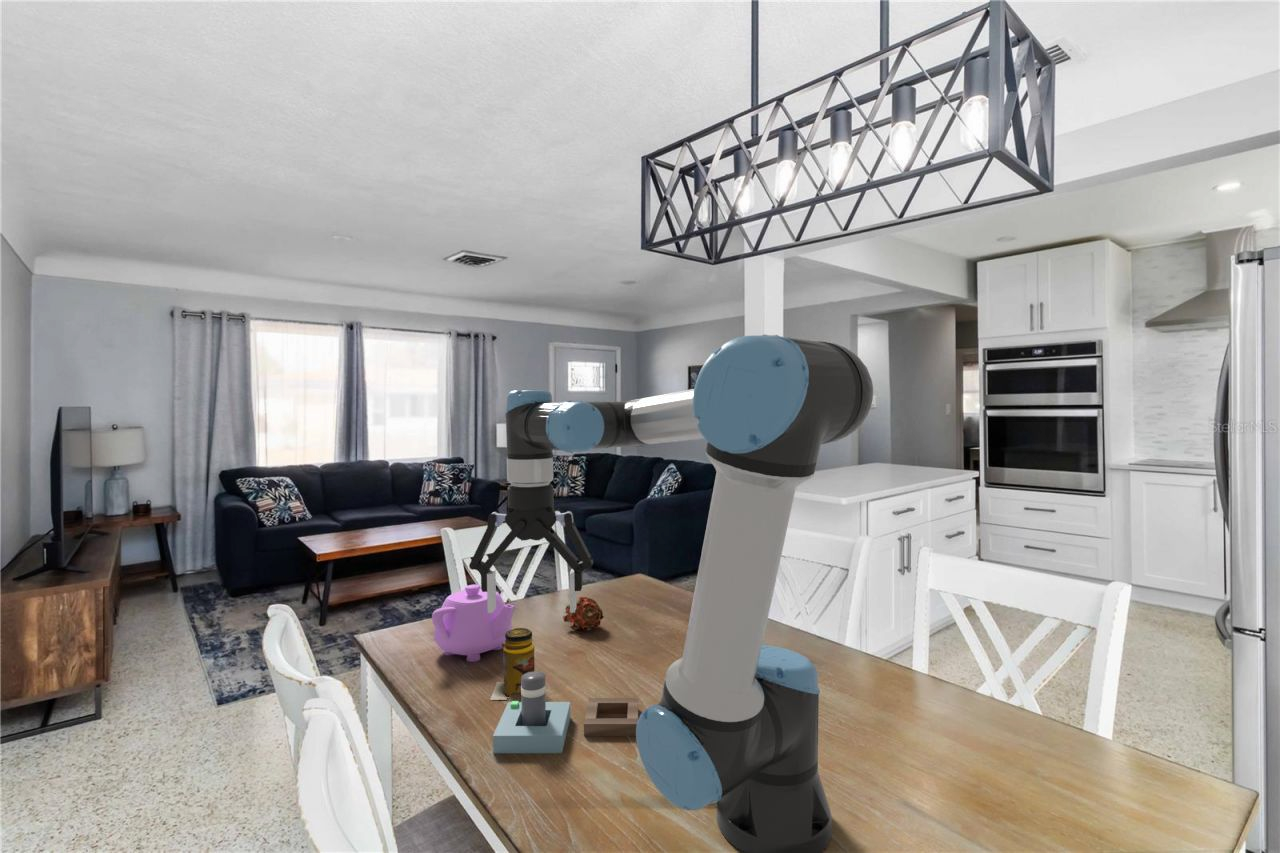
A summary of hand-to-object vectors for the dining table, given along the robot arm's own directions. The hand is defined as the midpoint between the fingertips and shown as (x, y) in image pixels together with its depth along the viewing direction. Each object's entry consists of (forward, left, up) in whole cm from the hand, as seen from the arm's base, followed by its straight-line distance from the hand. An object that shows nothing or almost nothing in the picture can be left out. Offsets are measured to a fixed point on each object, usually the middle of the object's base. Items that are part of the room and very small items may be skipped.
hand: (532, 610), depth 102 cm
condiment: (+18, +7, -23) cm, 30 cm away
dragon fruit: (+52, -3, -23) cm, 57 cm away
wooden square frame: (+4, -13, -22) cm, 26 cm away
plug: (0, 0, -21) cm, 21 cm away
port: (0, 0, -22) cm, 22 cm away
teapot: (+36, +20, -23) cm, 47 cm away
